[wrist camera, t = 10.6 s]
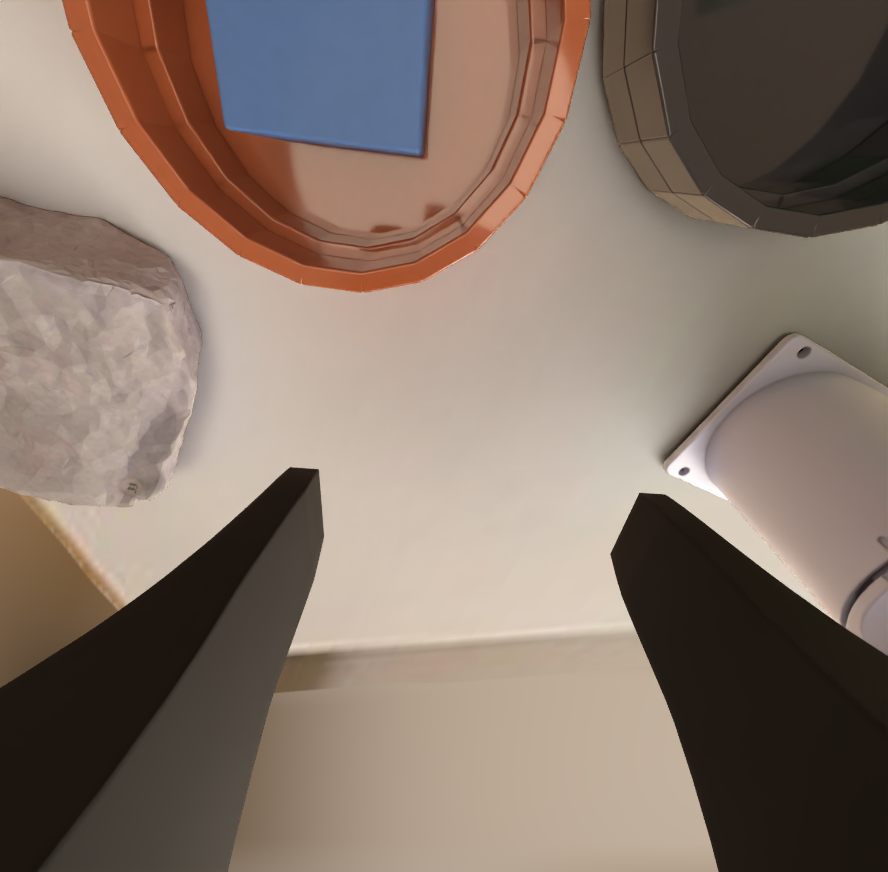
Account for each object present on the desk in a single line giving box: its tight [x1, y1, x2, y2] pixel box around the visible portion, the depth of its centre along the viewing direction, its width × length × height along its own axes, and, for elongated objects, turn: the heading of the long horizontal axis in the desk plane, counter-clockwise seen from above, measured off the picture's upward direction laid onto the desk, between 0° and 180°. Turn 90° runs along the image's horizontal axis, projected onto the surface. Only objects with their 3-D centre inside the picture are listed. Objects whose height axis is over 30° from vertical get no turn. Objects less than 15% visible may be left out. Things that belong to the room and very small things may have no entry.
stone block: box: [0, 197, 202, 507], centre depth 16 cm, size 12×5×10 cm
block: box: [205, 0, 434, 158], centre depth 10 cm, size 4×4×4 cm
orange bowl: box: [62, 0, 591, 293], centre depth 11 cm, size 12×12×4 cm
